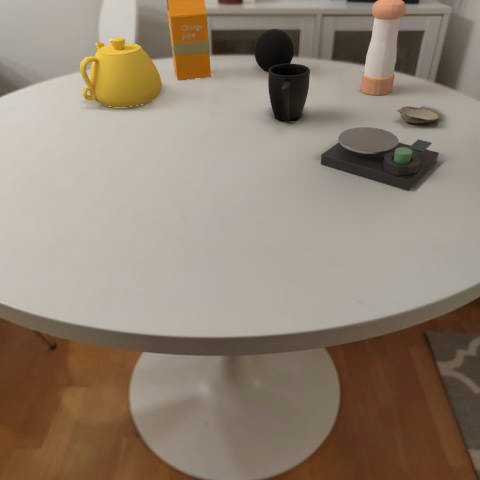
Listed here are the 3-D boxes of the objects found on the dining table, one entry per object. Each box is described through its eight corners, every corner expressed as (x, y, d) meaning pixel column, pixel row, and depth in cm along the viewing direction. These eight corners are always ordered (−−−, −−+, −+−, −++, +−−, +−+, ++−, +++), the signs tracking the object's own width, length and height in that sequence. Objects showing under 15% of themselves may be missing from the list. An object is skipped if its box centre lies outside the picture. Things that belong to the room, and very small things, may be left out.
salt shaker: (397, 88, 107) (415, -7, 95) (382, 97, 103) (399, -1, 91) (369, 82, 111) (383, -10, 98) (354, 91, 107) (366, -5, 94)
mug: (262, 131, 91) (262, 81, 85) (271, 109, 100) (271, 62, 94) (303, 133, 90) (306, 83, 84) (308, 110, 99) (311, 63, 92)
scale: (436, 162, 79) (441, 143, 77) (407, 191, 72) (412, 171, 70) (353, 140, 87) (355, 122, 84) (320, 164, 80) (322, 145, 77)
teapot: (176, 98, 107) (168, 38, 99) (101, 119, 99) (86, 55, 90) (136, 78, 119) (126, 23, 111) (67, 95, 111) (51, 37, 103)
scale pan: (431, 143, 77) (432, 141, 76) (407, 166, 71) (407, 164, 71) (355, 125, 84) (355, 122, 83) (327, 144, 78) (327, 142, 78)
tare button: (412, 160, 73) (415, 149, 72) (406, 166, 72) (408, 155, 71) (397, 155, 75) (399, 145, 73) (390, 161, 73) (392, 151, 72)
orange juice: (211, 77, 118) (205, -15, 105) (177, 80, 117) (166, -12, 104) (206, 68, 124) (200, -20, 111) (174, 71, 123) (163, -17, 109)
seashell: (439, 133, 92) (421, 110, 96) (447, 120, 90) (428, 97, 94) (404, 132, 89) (387, 109, 94) (412, 119, 87) (394, 95, 91)
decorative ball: (295, 67, 122) (297, 25, 116) (289, 79, 115) (291, 35, 108) (258, 66, 124) (258, 24, 117) (251, 77, 117) (250, 34, 110)
